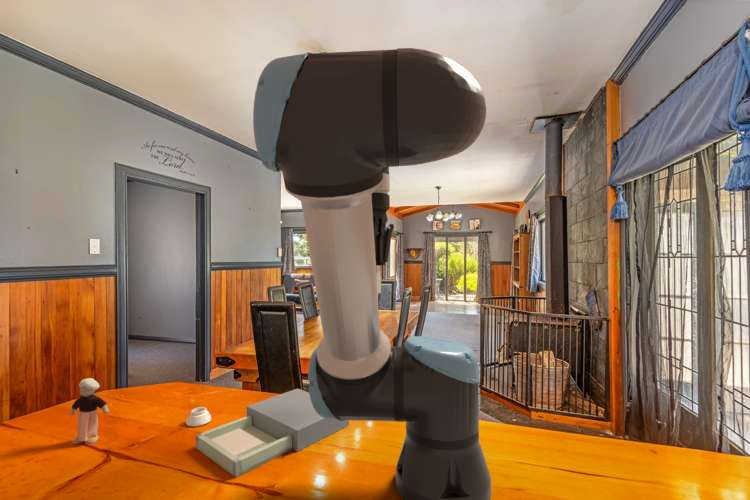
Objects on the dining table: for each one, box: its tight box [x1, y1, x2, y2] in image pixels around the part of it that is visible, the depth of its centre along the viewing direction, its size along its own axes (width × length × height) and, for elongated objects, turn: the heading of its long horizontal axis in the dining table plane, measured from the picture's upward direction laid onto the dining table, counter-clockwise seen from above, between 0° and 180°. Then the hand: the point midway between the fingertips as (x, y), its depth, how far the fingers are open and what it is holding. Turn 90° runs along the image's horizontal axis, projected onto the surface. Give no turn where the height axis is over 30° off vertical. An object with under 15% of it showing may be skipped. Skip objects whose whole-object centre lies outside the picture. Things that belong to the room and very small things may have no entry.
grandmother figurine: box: [69, 377, 110, 445], centre depth 76 cm, size 8×4×13 cm, turn 102°
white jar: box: [186, 406, 212, 427], centre depth 84 cm, size 5×3×5 cm
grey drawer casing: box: [246, 388, 350, 452], centre depth 82 cm, size 18×14×4 cm
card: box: [211, 428, 264, 458], centre depth 71 cm, size 9×6×1 cm, turn 49°
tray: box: [195, 415, 293, 478], centre depth 72 cm, size 15×12×2 cm
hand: (374, 292), depth 88 cm, fingers closed
